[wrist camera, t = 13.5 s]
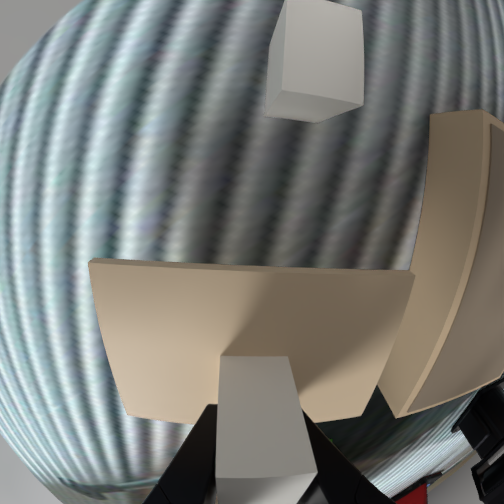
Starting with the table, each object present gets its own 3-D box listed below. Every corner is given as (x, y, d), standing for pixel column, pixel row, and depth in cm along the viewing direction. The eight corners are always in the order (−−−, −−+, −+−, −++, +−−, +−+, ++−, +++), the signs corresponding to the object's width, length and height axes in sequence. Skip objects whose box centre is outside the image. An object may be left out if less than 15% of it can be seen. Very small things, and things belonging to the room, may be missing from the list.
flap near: (408, 270, 8) (505, 348, 3) (358, 409, 10) (393, 490, 5) (94, 257, 7) (-5, 346, 3) (129, 408, 9) (102, 497, 5)
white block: (396, 75, 9) (460, 51, 5) (386, 213, 11) (451, 243, 7) (174, 44, 8) (143, -11, 4) (161, 196, 10) (116, 221, 6)
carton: (526, 165, 10) (563, 173, 7) (475, 352, 14) (500, 378, 11) (429, 114, 9) (484, 109, 6) (372, 376, 14) (396, 419, 10)
